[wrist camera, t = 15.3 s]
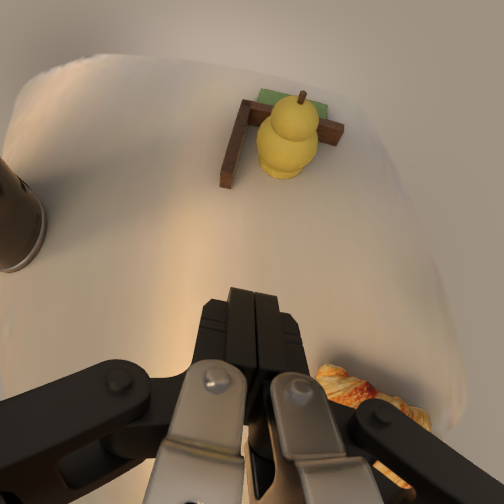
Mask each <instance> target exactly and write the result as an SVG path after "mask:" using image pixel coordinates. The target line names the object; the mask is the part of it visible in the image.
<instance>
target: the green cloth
mask: <svg viewBox="0 0 504 504" xmlns="http://www.w3.org/2000/svg"><path fill="white" fill-rule="evenodd" d="M287 96H292V95H288V94H284V93H280V92H275V91H271V90H266V89H261V91H260V94H259V98H258V101H257V102H259V103H264V104H268V105H273V106H274V105H275V104H276V103H277V102H278V101H279V100H281V99H282V98H285V97H287ZM309 101H310V102H311V103H312V104H313V105H314V106H315V107H316V109H317V112H318V115H319V117H320V118H324V119H327V105H326V104H322V103H319V102H315V101H311V100H309Z"/></svg>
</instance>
